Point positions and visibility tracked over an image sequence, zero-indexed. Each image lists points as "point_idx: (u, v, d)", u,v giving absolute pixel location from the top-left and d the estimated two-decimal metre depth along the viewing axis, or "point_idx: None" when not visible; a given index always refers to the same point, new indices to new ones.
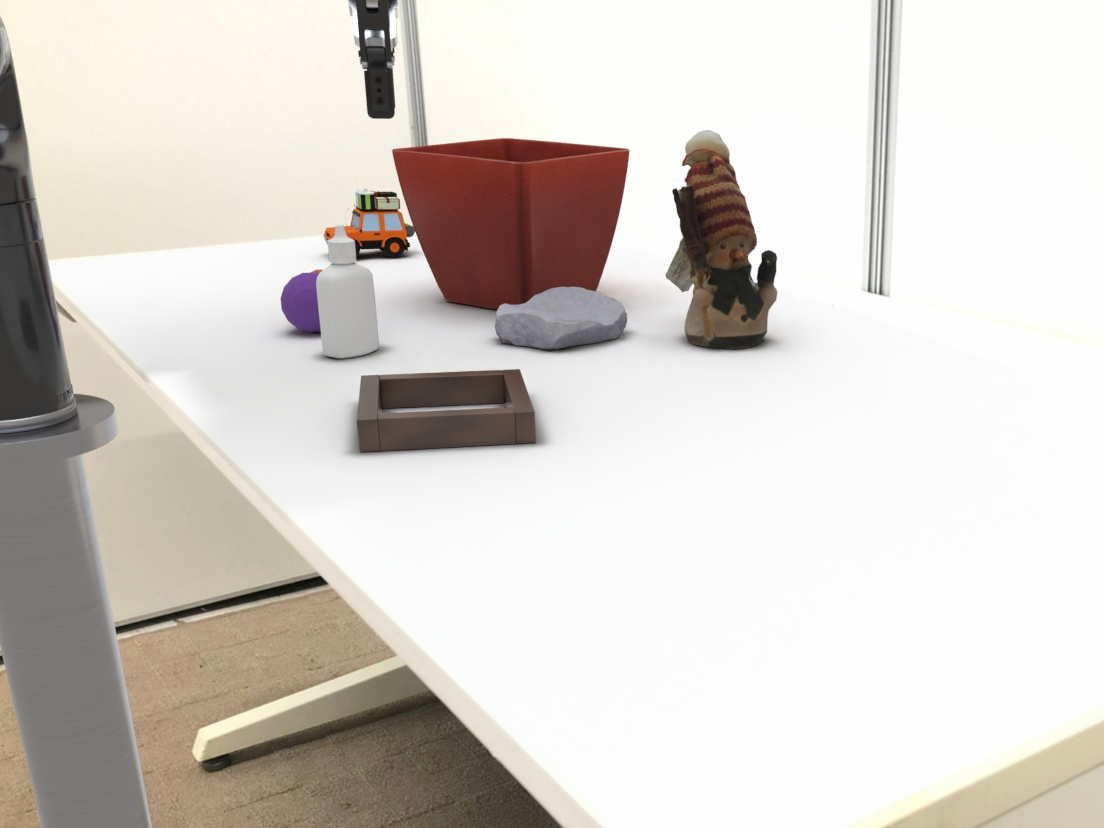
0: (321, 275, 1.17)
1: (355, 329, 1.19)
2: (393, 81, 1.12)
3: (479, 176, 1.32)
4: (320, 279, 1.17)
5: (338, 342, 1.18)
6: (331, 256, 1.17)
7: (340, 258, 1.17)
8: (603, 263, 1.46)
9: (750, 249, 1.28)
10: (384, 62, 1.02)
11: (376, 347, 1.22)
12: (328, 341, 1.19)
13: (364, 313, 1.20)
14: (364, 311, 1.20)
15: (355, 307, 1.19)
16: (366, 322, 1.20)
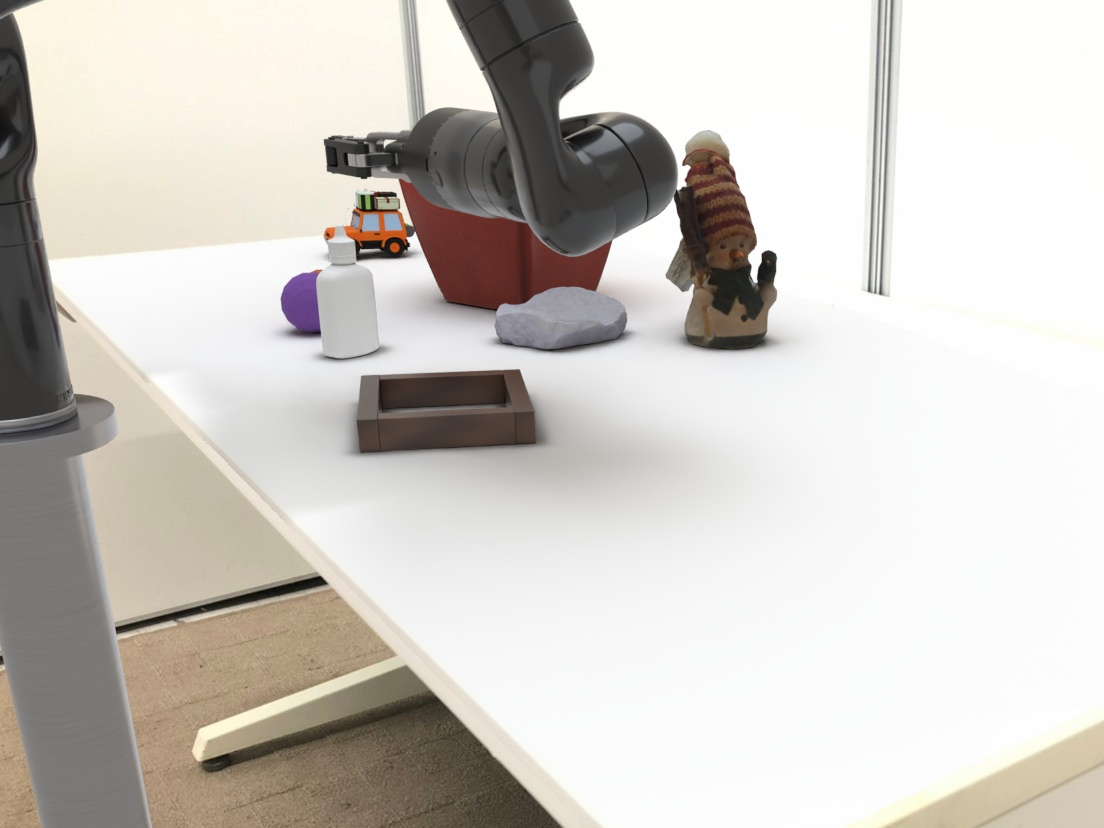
0: (321, 275, 1.17)
1: (355, 329, 1.19)
2: None
3: None
4: (320, 279, 1.17)
5: (338, 342, 1.18)
6: (331, 256, 1.17)
7: (340, 258, 1.17)
8: (603, 263, 1.46)
9: (750, 249, 1.28)
10: None
11: (376, 347, 1.22)
12: (328, 341, 1.19)
13: (364, 313, 1.20)
14: (364, 311, 1.20)
15: (355, 307, 1.19)
16: (366, 322, 1.20)
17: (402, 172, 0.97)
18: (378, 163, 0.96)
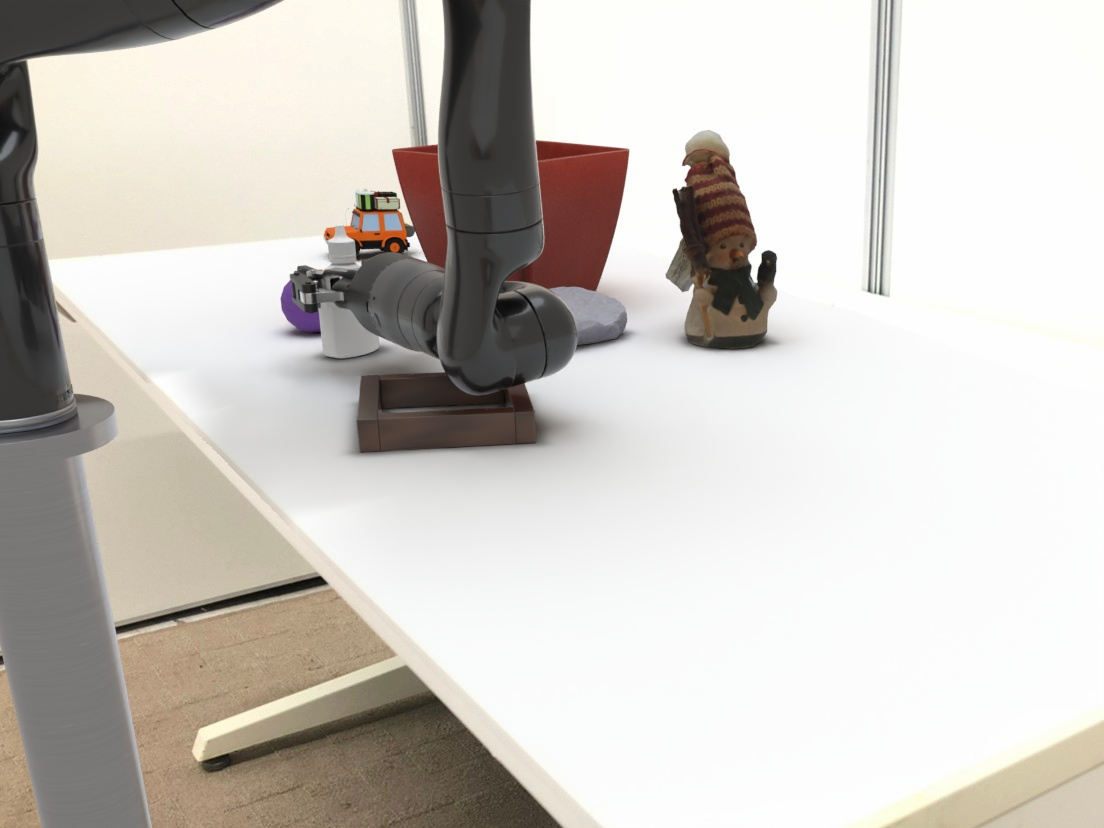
0: None
1: (355, 329, 1.19)
2: None
3: None
4: None
5: (338, 342, 1.18)
6: (331, 256, 1.17)
7: (340, 258, 1.17)
8: (603, 263, 1.46)
9: (750, 249, 1.28)
10: None
11: (376, 347, 1.22)
12: (328, 341, 1.19)
13: None
14: None
15: None
16: None
17: (348, 308, 1.11)
18: (323, 300, 1.10)
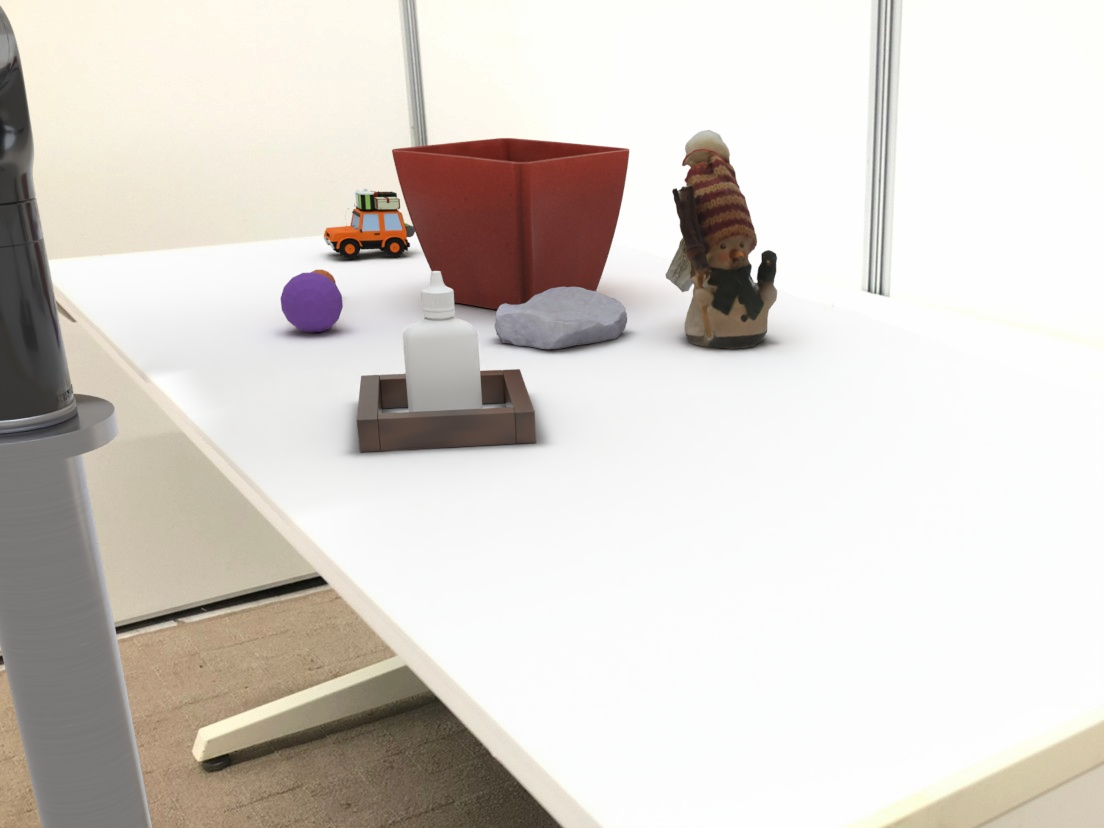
0: (406, 329, 0.97)
1: (438, 397, 0.98)
2: None
3: (479, 176, 1.32)
4: (404, 333, 0.97)
5: (415, 409, 0.98)
6: (422, 307, 0.97)
7: (428, 312, 0.96)
8: (603, 263, 1.46)
9: (750, 249, 1.28)
10: None
11: None
12: (409, 406, 0.99)
13: (454, 379, 0.98)
14: (454, 378, 0.98)
15: (440, 371, 0.98)
16: (457, 391, 0.99)
17: None
18: None
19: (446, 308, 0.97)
